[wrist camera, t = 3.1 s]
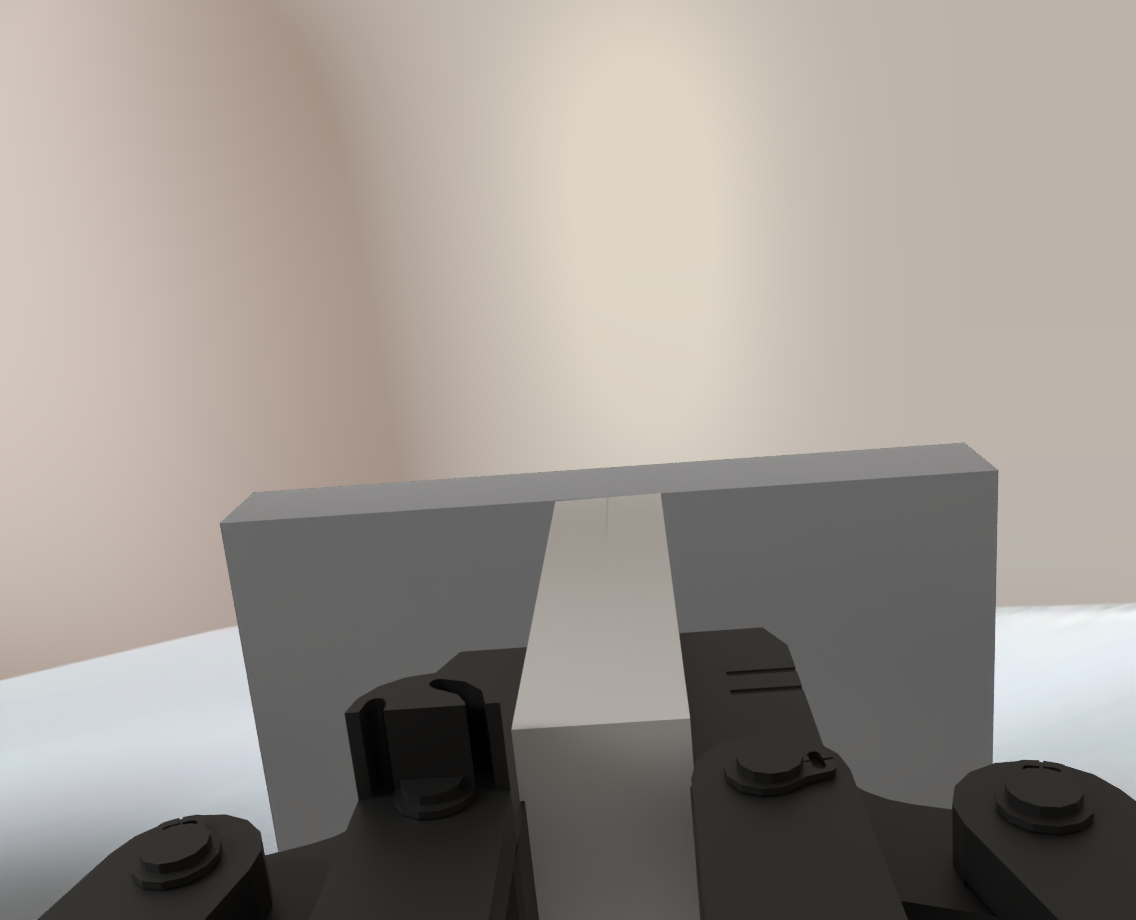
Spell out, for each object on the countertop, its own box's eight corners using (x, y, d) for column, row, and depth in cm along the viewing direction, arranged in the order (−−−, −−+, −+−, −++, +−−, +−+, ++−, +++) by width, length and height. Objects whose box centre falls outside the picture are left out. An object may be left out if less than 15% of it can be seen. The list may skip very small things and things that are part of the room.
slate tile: (316, 1067, 26) (219, 523, 23) (340, 995, 29) (255, 490, 25) (986, 1043, 25) (998, 470, 22) (956, 971, 28) (962, 441, 24)
